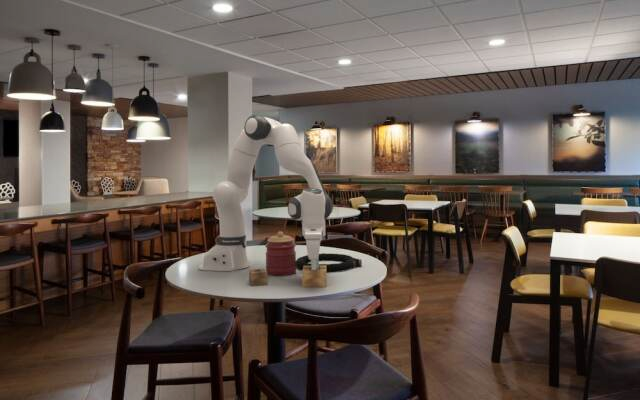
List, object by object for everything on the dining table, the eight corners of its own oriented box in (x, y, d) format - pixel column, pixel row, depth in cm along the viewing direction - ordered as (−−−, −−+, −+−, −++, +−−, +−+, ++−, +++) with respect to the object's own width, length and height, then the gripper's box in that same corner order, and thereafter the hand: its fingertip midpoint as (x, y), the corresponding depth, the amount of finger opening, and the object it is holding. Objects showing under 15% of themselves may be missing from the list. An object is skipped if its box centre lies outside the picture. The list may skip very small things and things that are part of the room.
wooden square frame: (302, 286, 172) (302, 271, 172) (303, 280, 181) (303, 265, 181) (326, 286, 172) (326, 270, 172) (326, 280, 181) (326, 265, 181)
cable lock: (303, 252, 224) (364, 253, 218) (303, 259, 224) (364, 261, 218) (287, 264, 197) (357, 265, 191) (288, 272, 197) (357, 274, 191)
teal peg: (311, 284, 175) (311, 255, 174) (311, 282, 178) (311, 254, 177) (318, 284, 175) (318, 255, 174) (318, 282, 178) (318, 254, 177)
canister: (292, 276, 189) (291, 233, 187) (262, 275, 191) (260, 233, 189) (299, 269, 201) (298, 229, 200) (270, 268, 204) (269, 229, 202)
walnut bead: (251, 286, 175) (251, 273, 174) (249, 282, 180) (248, 269, 180) (267, 284, 176) (267, 271, 176) (264, 280, 182) (263, 268, 182)
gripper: (307, 227, 186) (307, 261, 187) (304, 235, 165) (304, 272, 166) (322, 227, 185) (323, 260, 187) (321, 234, 165) (322, 272, 166)
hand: (314, 266), depth 176 cm, fingers open, 8 cm apart
